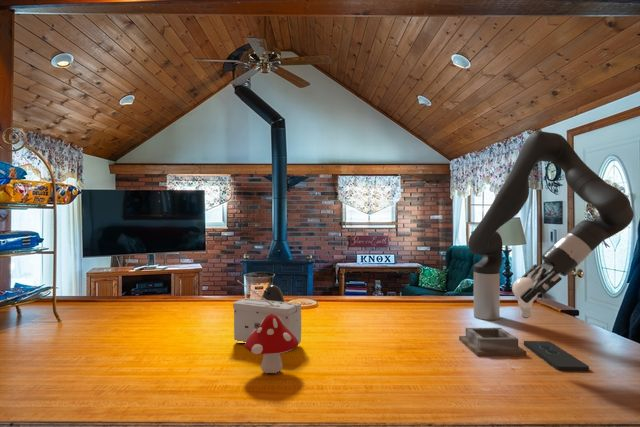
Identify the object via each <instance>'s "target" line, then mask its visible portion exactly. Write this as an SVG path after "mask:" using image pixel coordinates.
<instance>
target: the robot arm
mask: <svg viewBox="0 0 640 427" xmlns="http://www.w3.org/2000/svg"><path fill="white" fill-rule="evenodd" d="M538 162H546V163H552V164H554V165H555V166H557V167H559V168H560V169H561V170H562V171H563V173H564V178H565V181H566V183H567V185H568V186H569V188H570V189H571V190H572V191H573V192H574V193H575V194H576V195H577V196H578V197H580V199H581V200H582V201H584V202H585V203H588V204H591V205H592V206H593V207H594V208H595V210H596V211H597V213H598V216H597V217H596V218H595V219H593V220H590V219H584V220H581V221H579V223H577V224H576V225H575V226H574V227H573V228H572V229H571V230H570V231H568V232H567V233H566V234H565V235H563V236H562V237H561V238H560V239H559V240H557V241H556V242H555V243H554V244H552V246H551V247H549V248H548V249H547V250H546V251H545V252H544V253H543V254H542V255H541V259H542V261H543V263H542V264H540V265H537V264H533V265H532V266H531V267H530V268H529V269H528V270H527V271H526V272H525V273H524V274H523V275H522V276H521V277H527V278H530V279H532V280H534V283H533V285H532V286H531V288H529V289H528V290H527V291H526V292H524V293H523V294H522V295H521V296H520V298H521V299H522V300H523V301H524V302H525V303H528V302H529V301H530V300H531V299H532V298H534V297H535V296H536V295H537V293H538V295H540V294H542V295H545V294H547V292H549V291H550V290H551V289H552V288H553V287H555V286H556V285H557V284H558V283H560V282H561V281H562V279H563V278H562V277H566V276H567V275H569V274H570V273H571V272H572V271H573V270H574V269H576V268H577V267H578V266H579V265H580V264H581V263H582V262H583V261H585V259H587V257H589V255H590V254H591V253H592V252H593V251H594V250H595V249H596V248H598V246H600V244H602V243H603V242H604V241H605V240H607V239H610V238H611V237H614V235H616V234H618V233H620V232H621V231H623V230H624V229H626V228H627V227H628V226H629V225H630V224H631V223H632V221H634V220H633V219H634V214H635V213H634V210H633V208H632V205H631V202H630V200H629V198H628V197H627V195H626V194H625V193H623V191H621V190H619V189H618V188H617V187H615V186H613V185H611V184H609V183H608V182H606V181H605V180H604V179H603V178H602V177H600V175H598V174H597V173H596V172H595V171H594V170H593V169H591V168H590V167H589V166H588V165H587V164H586V163H585V162H584V161H583V160H582V159H581V157H580V156H579V154H578V153H577V152H576V151H575V149H573V147H572V146H571V145H570V143H569V141H567V139H566V138H565V137H564V136H563V135H561V134H559V133H556V132H548V131H543V130H542V131H541V130H540V131H539V130H537V131H533V132H532V133H530V134H529V135H528V137H527V138H526V139H525V141H524V143H523V145H522V146H521V149H520V152H519V153H518V155H517V157H516V160H515V162H514V163H513V166H512V169H511V170H510V172H509V174H508V176H507V178H506V180H505V181H504V183H503V185H502V186H501V187H500V189H499V191H498V193H497V194H496V196H495V198H494V200H493V202H492V203H491V205H490V206H489V208H488V210H487V211H486V213H485V215H484V216H483V218H482V219H481V221H480V222H479V223H478V225H477V226H476V227H475V229H474V230H473V231H472V232H471V234H470V236H469V238H468V249H469V251H470V252H471V254H473V255H477V256H482V258H481V259H480V260H479V261H478V262H476V263H474V264H473V317H475V318H476V319H479V320H485V321H495V320H499V319H500V313H501V312H500V311H501V310H500V309H501V308H500V306H501V305H500V304H501V303H500V302H501V301H500V299H501V296H500V295H501V294H500V293H501V291H500V288H501V287H500V282H501V281H500V269H501V266H502V264H503V263H502V262H503V239H502V236H501V234H500V232H498V230H499V229H500V228H501V227H502V226H504V225H505V224H507V223H508V222H509V221H511V220H512V219H513V218H514V217H516V216H517V215H518V214H519V213H520V211H521V210H522V208H523V207H524V205H525V204H526V202H527V200H528V199H529V196H530V182H529V181H530V180H529V179H530V178H529V177H530V175H531V173H532V170H533V169H534V168H535V165H536V164H537V163H538ZM561 276H562V277H561ZM511 292H512V294H513V295H514V293H513V291H512V290H511ZM538 295H537V296H538Z"/></svg>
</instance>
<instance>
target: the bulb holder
mask: <svg viewBox="0 0 640 427" xmlns="http://www.w3.org/2000/svg"><path fill="white" fill-rule="evenodd" d="M458 336H459V337H458V340H459V341H460V342H461V343H462V344H463V345H464V346H465V347H466V348H468V349H469V350H470V351H471V352H472V353H473V354H474V355H475V356H476V357H497V356H498V357H507V356H509V357H510V356H513V357H517V356H518V357H519V356H520V357H521V356H522V357H523V356H524V357H525V356H527V350H525V349H524V348H522V347H520V346H519V338H517V337H516V336H514V335H512V334H511V333H510V332H508V331H507V330H504V329H503V328H501V327H465V335H458Z"/></svg>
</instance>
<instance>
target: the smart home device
mask: <svg viewBox="0 0 640 427" xmlns="http://www.w3.org/2000/svg"><path fill="white" fill-rule="evenodd" d="M523 346H524V347H525V348H527V350H529V349H530V351H531V352H532V353H533V354H535V355H536V356H537V357H539V358H540V359H541V360H543V361H544V362H545V361H546V362H545V363H547V364H548V365H549V366H551V367H552V368H553V369H555V370H556V371H559V372H590V366H589V365H588V364H586V363H585V362H583V361H582V360H580V359H578V358H576V356H574V355H572V354H570V353H569V352H567V351H566V350H564V349H563V348H562V347H560V346H558V345H556V344H555V343H553V342H551V341H548V340H545V341H544V340H523Z"/></svg>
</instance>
